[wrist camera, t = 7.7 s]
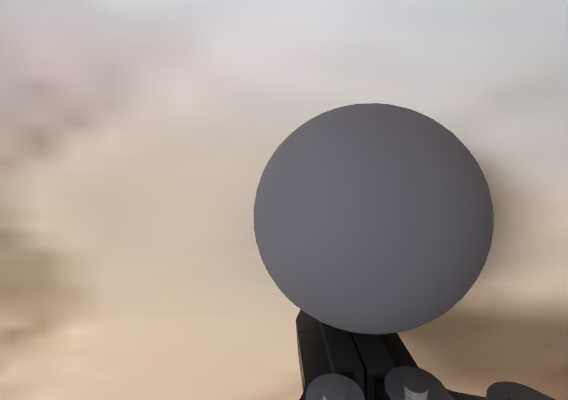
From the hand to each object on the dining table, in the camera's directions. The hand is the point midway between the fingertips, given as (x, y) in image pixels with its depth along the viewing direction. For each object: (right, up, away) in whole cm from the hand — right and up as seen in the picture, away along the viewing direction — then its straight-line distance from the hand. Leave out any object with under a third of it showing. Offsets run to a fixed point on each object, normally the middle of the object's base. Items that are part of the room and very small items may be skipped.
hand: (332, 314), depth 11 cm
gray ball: (0, +4, -2) cm, 4 cm away
